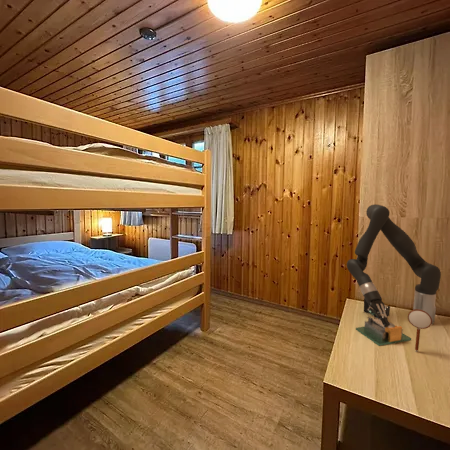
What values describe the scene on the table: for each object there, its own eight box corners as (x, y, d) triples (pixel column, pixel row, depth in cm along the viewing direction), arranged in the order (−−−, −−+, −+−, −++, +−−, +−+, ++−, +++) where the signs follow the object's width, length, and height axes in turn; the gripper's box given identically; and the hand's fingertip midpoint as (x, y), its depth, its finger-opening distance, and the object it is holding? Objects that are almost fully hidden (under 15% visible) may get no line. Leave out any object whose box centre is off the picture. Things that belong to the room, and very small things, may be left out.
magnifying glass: (428, 354, 113) (433, 312, 110) (428, 356, 112) (432, 313, 109) (405, 347, 118) (408, 306, 116) (404, 348, 117) (408, 307, 115)
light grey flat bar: (378, 319, 134) (378, 318, 133) (396, 330, 123) (397, 329, 123) (372, 320, 133) (372, 319, 132) (390, 332, 122) (390, 330, 122)
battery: (377, 313, 152) (378, 295, 150) (376, 315, 149) (377, 297, 148) (364, 309, 156) (365, 292, 155) (362, 311, 154) (364, 293, 152)
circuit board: (385, 324, 138) (386, 311, 137) (411, 340, 124) (412, 325, 123) (355, 329, 134) (356, 316, 133) (379, 346, 119) (380, 330, 118)
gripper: (364, 290, 131) (381, 325, 121) (385, 289, 134) (403, 322, 124) (355, 296, 137) (371, 329, 127) (376, 294, 140) (393, 326, 130)
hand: (387, 326), depth 125 cm, fingers closed
